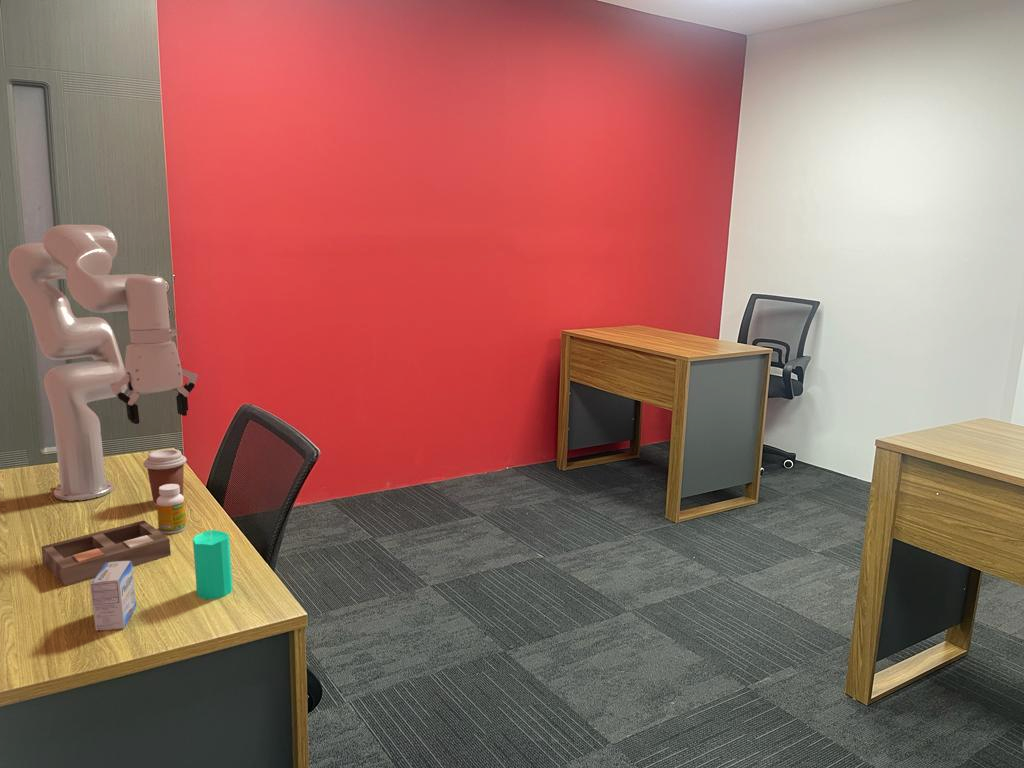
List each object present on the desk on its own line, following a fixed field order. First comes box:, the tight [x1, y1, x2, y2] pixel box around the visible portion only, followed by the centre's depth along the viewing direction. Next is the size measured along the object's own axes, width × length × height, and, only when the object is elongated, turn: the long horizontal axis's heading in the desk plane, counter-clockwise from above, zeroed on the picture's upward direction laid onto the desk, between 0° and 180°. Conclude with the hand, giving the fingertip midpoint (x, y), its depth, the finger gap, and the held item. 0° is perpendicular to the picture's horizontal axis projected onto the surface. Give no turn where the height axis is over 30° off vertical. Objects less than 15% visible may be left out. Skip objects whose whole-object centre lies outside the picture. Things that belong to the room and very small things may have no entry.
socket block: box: [41, 520, 172, 587], centre depth 149 cm, size 13×19×4 cm
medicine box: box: [89, 561, 137, 632], centre depth 127 cm, size 8×4×9 cm, turn 12°
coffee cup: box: [143, 448, 187, 507], centre depth 179 cm, size 9×9×12 cm
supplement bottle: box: [156, 484, 187, 535], centre depth 163 cm, size 5×5×10 cm
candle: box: [192, 528, 234, 600], centre depth 137 cm, size 6×6×12 cm
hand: (159, 418), depth 159 cm, fingers open, 9 cm apart
